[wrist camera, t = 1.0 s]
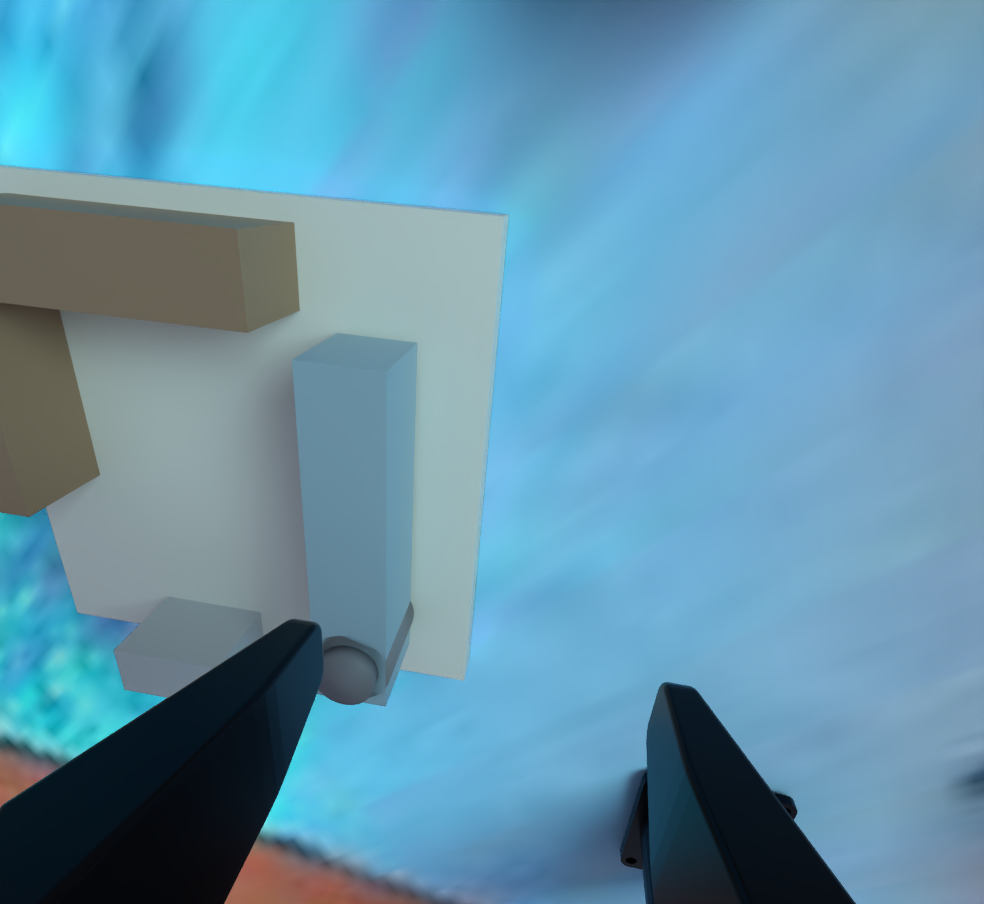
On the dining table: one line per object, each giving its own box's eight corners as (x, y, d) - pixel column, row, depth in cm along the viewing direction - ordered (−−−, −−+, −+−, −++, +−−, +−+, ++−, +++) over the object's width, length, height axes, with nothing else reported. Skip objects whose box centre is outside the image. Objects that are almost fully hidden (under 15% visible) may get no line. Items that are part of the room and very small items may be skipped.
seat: (468, 661, 24) (448, 750, 20) (99, 598, 25) (16, 669, 22) (508, 214, 16) (487, 222, 13) (-21, 162, 18) (-181, 155, 14)
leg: (413, 643, 22) (384, 721, 19) (344, 632, 22) (304, 707, 19) (422, 343, 17) (384, 379, 14) (332, 332, 17) (274, 365, 14)
